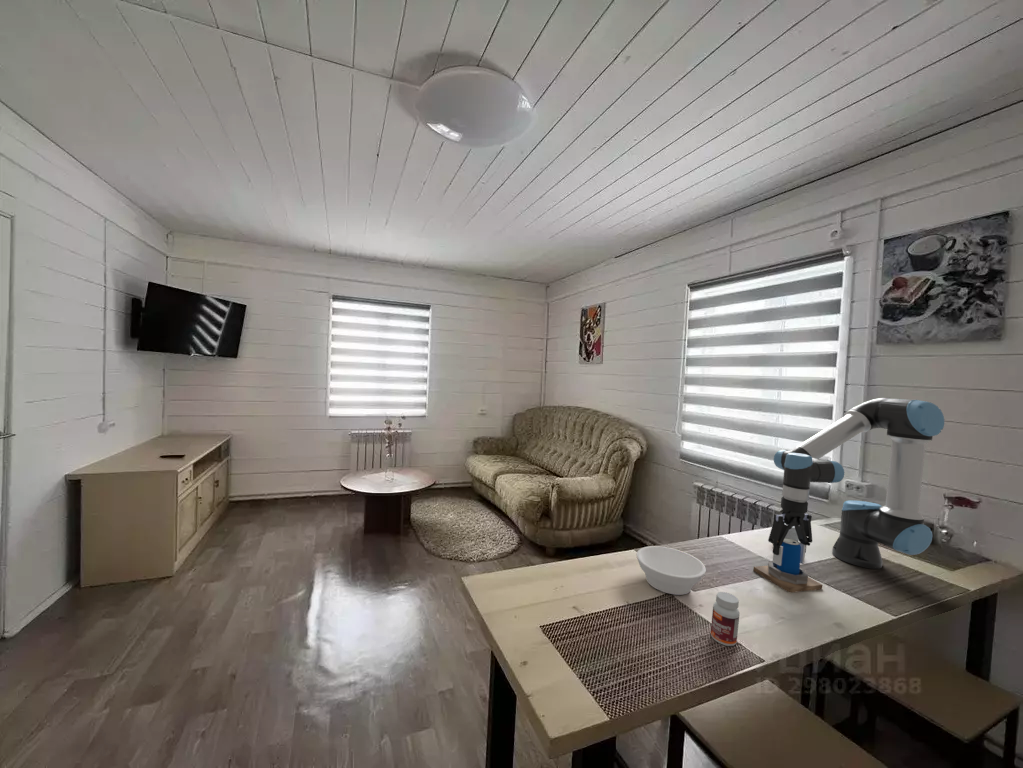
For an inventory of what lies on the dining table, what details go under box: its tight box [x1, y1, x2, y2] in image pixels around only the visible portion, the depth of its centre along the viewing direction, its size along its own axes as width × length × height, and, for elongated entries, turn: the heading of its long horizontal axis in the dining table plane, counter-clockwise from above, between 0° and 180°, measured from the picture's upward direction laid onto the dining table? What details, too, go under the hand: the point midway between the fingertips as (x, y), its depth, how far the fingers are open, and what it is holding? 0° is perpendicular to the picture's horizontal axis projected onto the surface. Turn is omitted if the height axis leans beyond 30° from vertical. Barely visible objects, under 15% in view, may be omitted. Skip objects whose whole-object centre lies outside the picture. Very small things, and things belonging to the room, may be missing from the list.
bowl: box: [636, 545, 707, 596], centre depth 132 cm, size 21×21×8 cm
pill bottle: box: [710, 591, 740, 647], centre depth 106 cm, size 6×6×11 cm
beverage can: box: [777, 538, 801, 575], centre depth 140 cm, size 6×6×12 cm
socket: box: [753, 560, 823, 593], centre depth 141 cm, size 14×14×4 cm
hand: (788, 562), depth 140 cm, fingers open, 9 cm apart
